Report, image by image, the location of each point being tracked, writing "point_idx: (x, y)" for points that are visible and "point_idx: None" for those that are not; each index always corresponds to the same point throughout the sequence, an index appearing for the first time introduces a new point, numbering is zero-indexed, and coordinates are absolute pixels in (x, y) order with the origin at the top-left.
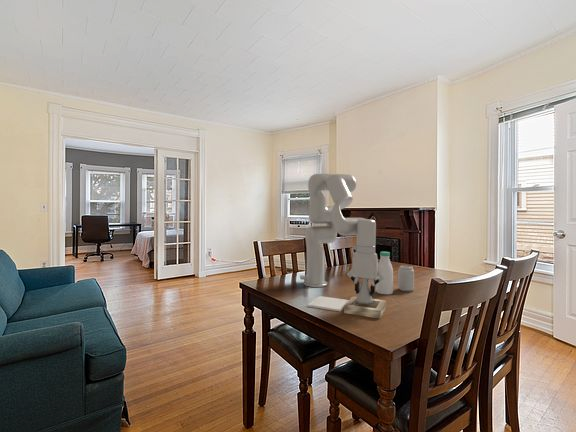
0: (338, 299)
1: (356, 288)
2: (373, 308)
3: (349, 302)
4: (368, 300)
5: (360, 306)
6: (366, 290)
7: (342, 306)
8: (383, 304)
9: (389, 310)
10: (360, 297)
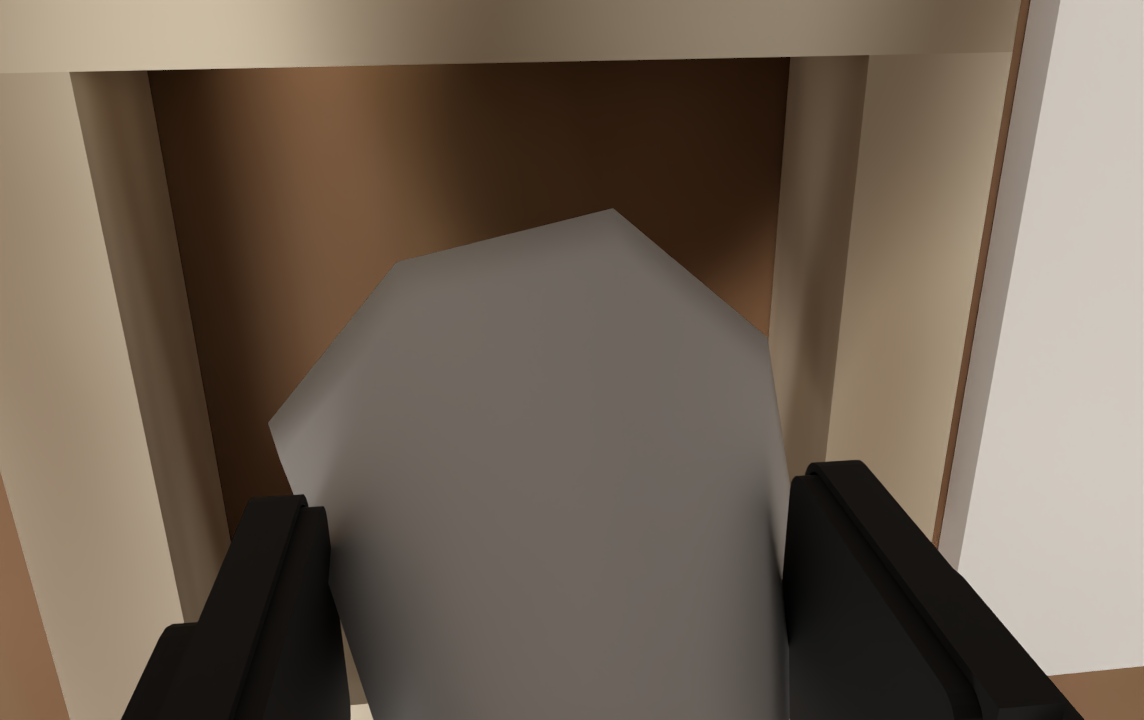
0: (1138, 621)
1: (929, 564)
2: (134, 26)
3: (916, 256)
4: (378, 355)
5: (557, 38)
6: (466, 575)
7: (1022, 232)
8: (27, 528)
9: (20, 582)
10: (648, 333)
